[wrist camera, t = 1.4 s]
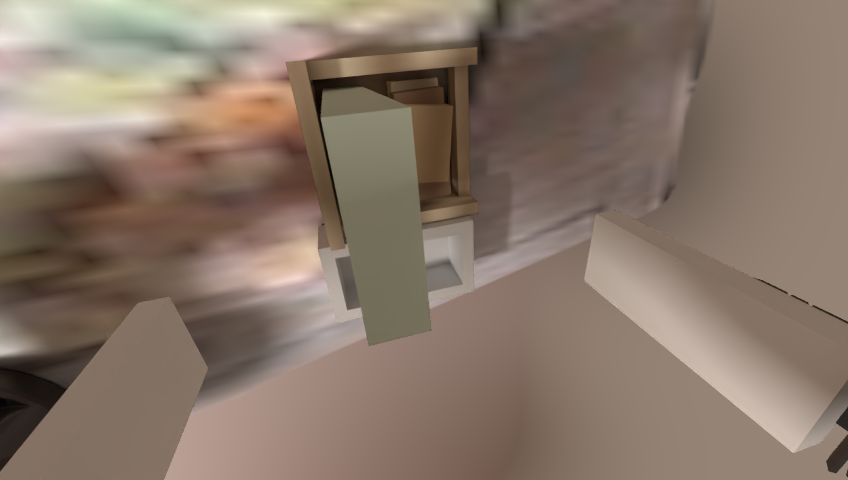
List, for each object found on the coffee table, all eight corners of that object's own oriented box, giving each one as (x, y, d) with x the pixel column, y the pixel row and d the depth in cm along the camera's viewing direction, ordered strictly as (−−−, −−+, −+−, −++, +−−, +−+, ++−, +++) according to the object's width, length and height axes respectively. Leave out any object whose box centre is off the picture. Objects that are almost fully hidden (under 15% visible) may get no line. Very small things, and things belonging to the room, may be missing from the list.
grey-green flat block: (345, 200, 33) (368, 346, 16) (322, 88, 28) (320, 117, 11) (376, 195, 33) (431, 330, 16) (358, 85, 29) (411, 107, 11)
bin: (335, 293, 37) (337, 323, 33) (318, 226, 33) (317, 249, 29) (457, 267, 40) (474, 291, 35) (455, 202, 36) (473, 219, 32)
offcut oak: (404, 178, 29) (408, 183, 28) (404, 103, 27) (408, 105, 25) (443, 176, 30) (448, 181, 29) (446, 104, 27) (453, 105, 26)
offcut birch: (397, 190, 34) (403, 198, 32) (385, 81, 30) (390, 82, 27) (435, 184, 35) (443, 191, 33) (429, 77, 30) (437, 77, 28)
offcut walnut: (404, 195, 32) (409, 202, 30) (389, 92, 28) (393, 94, 26) (444, 187, 33) (451, 193, 31) (435, 85, 28) (443, 86, 27)
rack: (329, 223, 33) (330, 251, 28) (292, 63, 27) (285, 62, 22) (463, 199, 36) (486, 221, 31) (459, 49, 30) (488, 45, 24)
